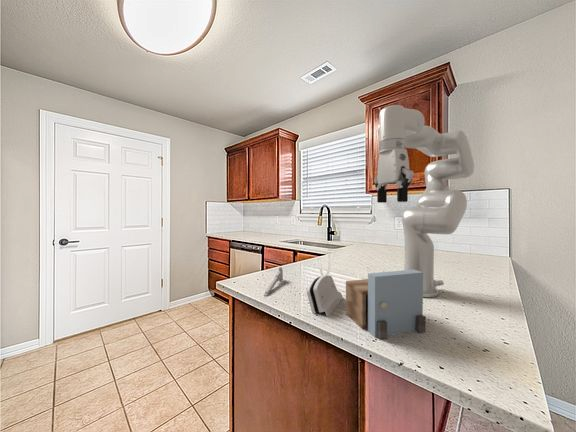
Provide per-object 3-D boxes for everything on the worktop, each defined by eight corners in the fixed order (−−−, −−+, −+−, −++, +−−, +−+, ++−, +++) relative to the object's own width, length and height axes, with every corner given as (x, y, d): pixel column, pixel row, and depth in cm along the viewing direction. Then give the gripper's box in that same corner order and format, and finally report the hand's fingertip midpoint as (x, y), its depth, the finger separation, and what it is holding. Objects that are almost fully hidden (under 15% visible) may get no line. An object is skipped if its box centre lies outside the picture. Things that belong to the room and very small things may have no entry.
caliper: (280, 280, 106) (280, 266, 106) (282, 280, 105) (282, 266, 105) (263, 296, 86) (263, 279, 86) (266, 297, 86) (266, 280, 86)
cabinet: (345, 314, 71) (345, 281, 71) (392, 308, 75) (392, 276, 74) (374, 340, 57) (374, 299, 57) (430, 331, 61) (430, 292, 60)
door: (367, 331, 61) (368, 273, 61) (413, 324, 65) (414, 269, 64) (377, 339, 57) (378, 278, 57) (426, 332, 61) (426, 273, 60)
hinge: (327, 316, 69) (316, 283, 71) (313, 319, 72) (303, 286, 73) (343, 297, 84) (333, 269, 85) (330, 299, 86) (321, 272, 88)
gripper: (423, 141, 68) (422, 201, 68) (384, 154, 84) (384, 202, 85) (400, 139, 66) (400, 201, 66) (365, 153, 83) (365, 202, 83)
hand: (391, 202), depth 76 cm, fingers open, 9 cm apart
